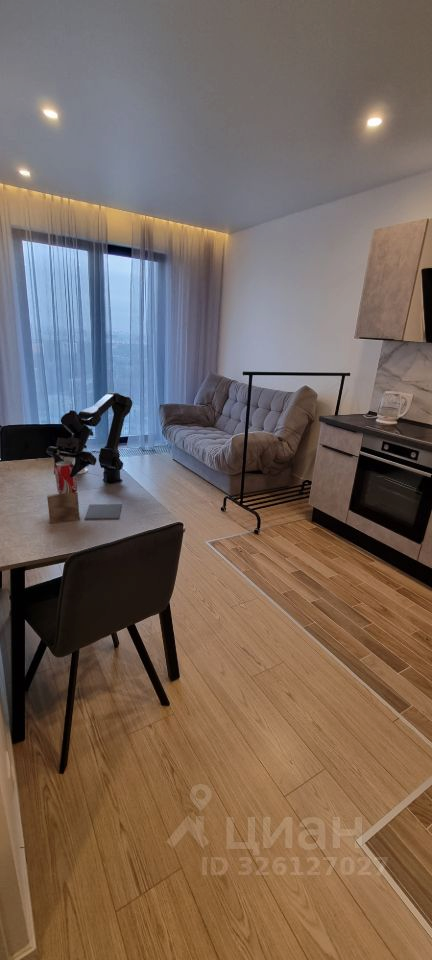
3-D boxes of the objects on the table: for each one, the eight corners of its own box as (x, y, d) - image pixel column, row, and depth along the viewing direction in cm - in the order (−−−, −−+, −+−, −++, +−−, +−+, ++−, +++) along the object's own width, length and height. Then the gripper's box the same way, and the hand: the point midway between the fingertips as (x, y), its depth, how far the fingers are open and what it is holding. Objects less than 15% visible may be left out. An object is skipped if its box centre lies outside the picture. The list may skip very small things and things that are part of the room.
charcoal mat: (89, 505, 151) (89, 504, 151) (121, 505, 153) (121, 504, 153) (84, 519, 140) (84, 518, 140) (118, 519, 142) (118, 517, 142)
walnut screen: (79, 514, 144) (77, 492, 141) (79, 519, 140) (78, 496, 137) (49, 518, 140) (47, 495, 137) (49, 523, 136) (47, 499, 133)
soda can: (72, 497, 145) (67, 466, 141) (54, 496, 146) (49, 465, 142) (81, 490, 151) (77, 460, 147) (64, 489, 152) (59, 459, 148)
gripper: (46, 425, 146) (28, 462, 140) (89, 431, 141) (72, 470, 135) (63, 440, 156) (46, 475, 150) (103, 446, 150) (88, 483, 145)
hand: (62, 475), depth 145 cm, fingers closed on soda can, 7 cm apart
